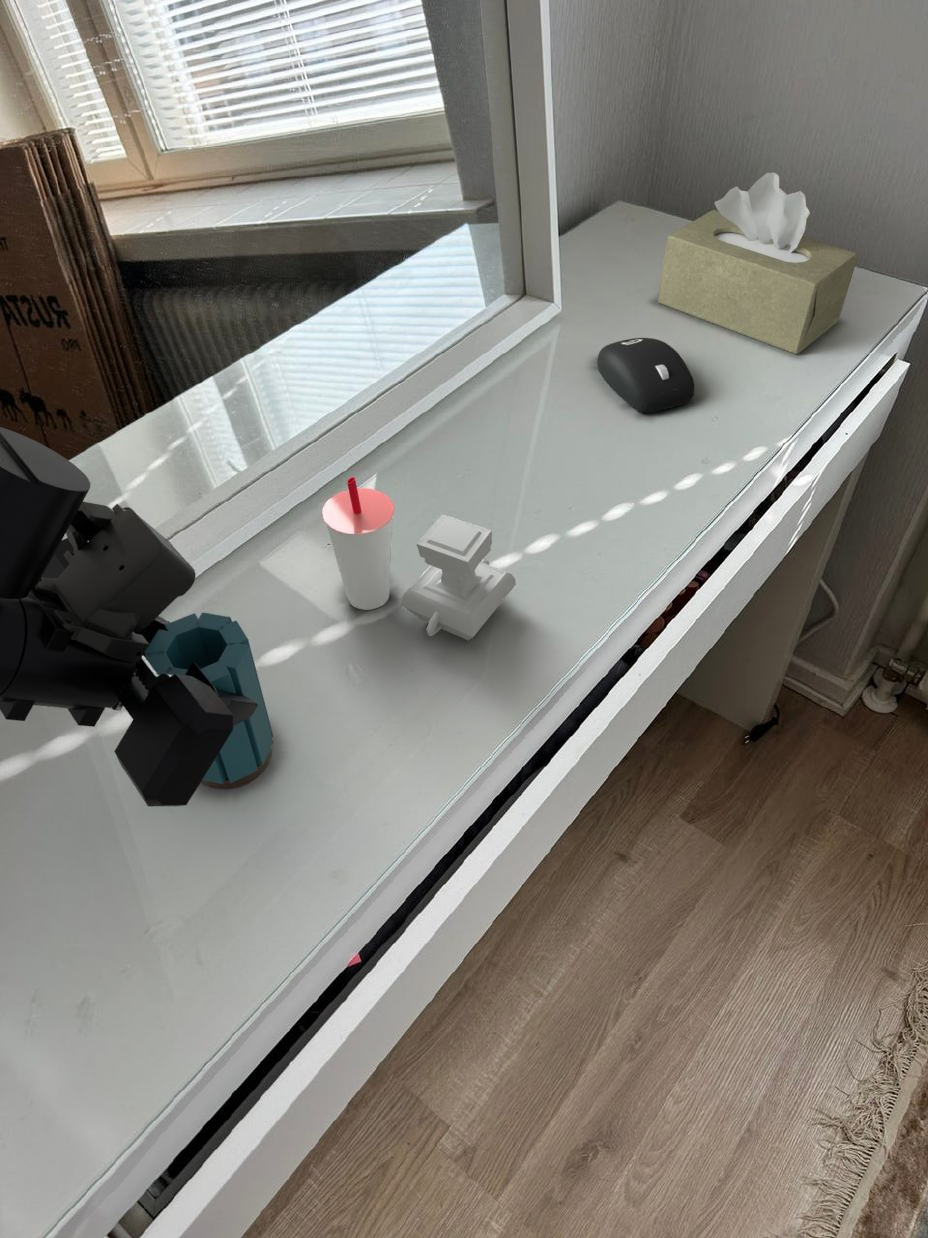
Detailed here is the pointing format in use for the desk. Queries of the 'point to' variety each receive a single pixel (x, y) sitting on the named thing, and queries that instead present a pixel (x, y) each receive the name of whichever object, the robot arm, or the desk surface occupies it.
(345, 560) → the cup
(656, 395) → the computer mouse
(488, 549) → the stamp
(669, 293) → the tissue box
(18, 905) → the desk surface
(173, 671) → the sleeve
